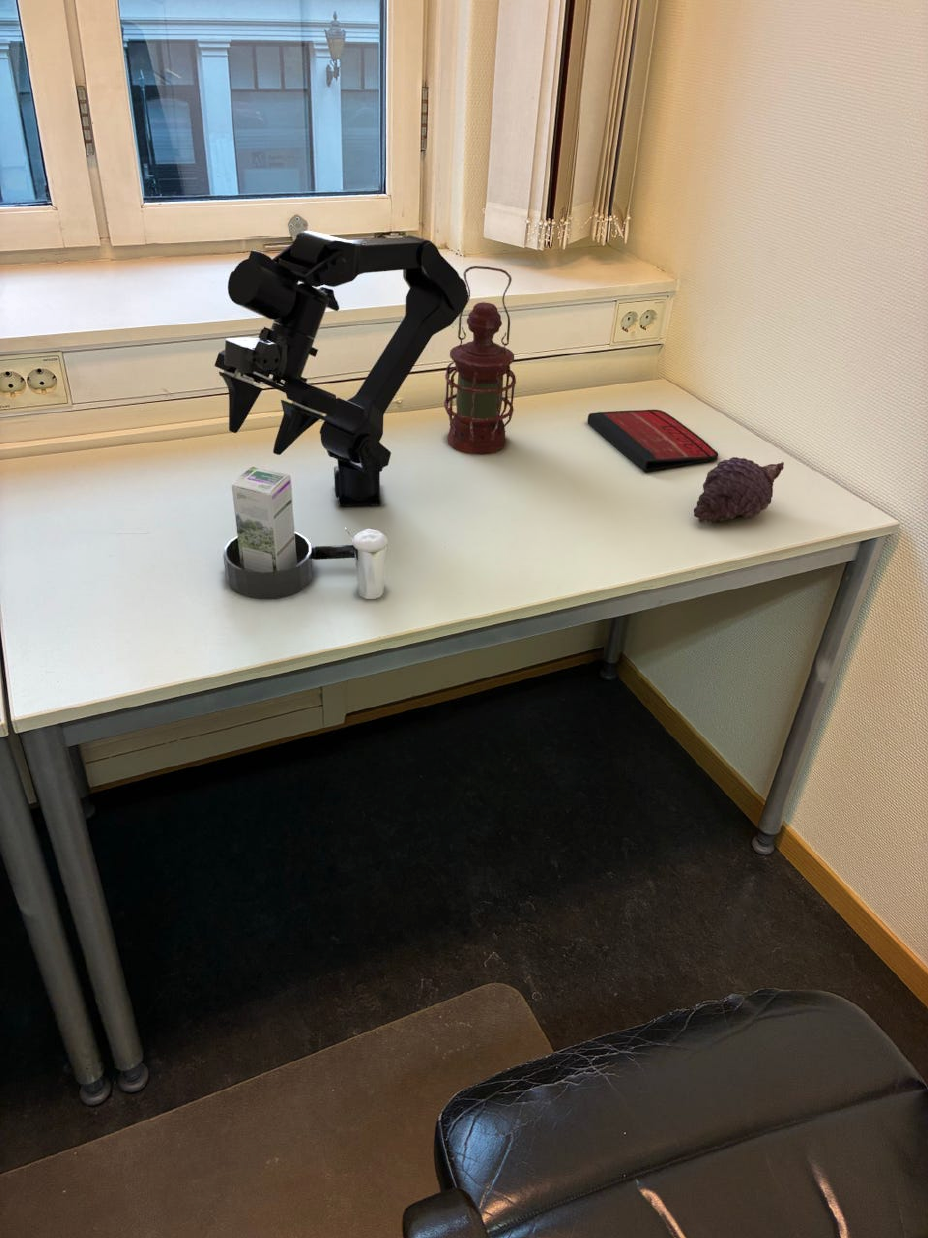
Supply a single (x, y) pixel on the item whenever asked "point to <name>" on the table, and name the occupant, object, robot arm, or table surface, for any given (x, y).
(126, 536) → the table surface
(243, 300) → the robot arm
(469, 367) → the lantern
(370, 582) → the milkshake
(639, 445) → the binder
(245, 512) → the syrup box
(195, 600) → the table surface
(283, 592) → the pan
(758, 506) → the pine cone
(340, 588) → the table surface
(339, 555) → the pan handle
